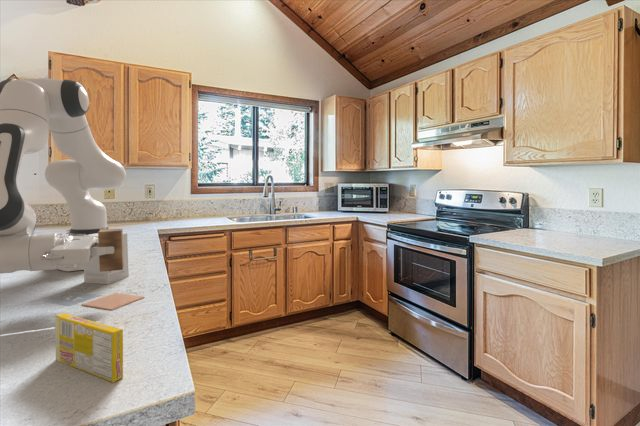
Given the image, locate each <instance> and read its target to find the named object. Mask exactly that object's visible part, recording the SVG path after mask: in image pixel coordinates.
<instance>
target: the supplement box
mask: <svg viewBox="0 0 640 426" xmlns="http://www.w3.org/2000/svg"><path fill="white" fill-rule="evenodd" d="M83 236H94V237H98V233H95V234H89V235H83ZM128 246H129V245H128V232H123V258H124V267H123V270H114V271H102V272H100V265H99V256H93V257H92V259H91V260H90V261H89V262H88V263H85V264H84V270H83V277H84V278H83V281H84V282H83V283H89V284H90V283H91V284H102V285H109V284H113V283H115V282H117V281H121V280H123V279H126V278H129V252H128V251H129V247H128Z"/></svg>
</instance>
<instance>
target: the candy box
mask: <svg viewBox="0 0 640 426" xmlns="http://www.w3.org/2000/svg"><path fill="white" fill-rule="evenodd" d="M54 320H55V321H54V323H55V324H54V325H55V328H54V329H55V361H58V362H60V363H62V364H65V365H67V366H70V367H73V368H75V369H78V370H80V371H83V372H85V373H88V374H90V375H93V376H96V377H98V378H101V379H103V380H105V381H108V382H111V383H112V384H114V383H116V382H118V381H120V380H121V379H123V378H124V330H123V329H122V328H118V327H115V326H111V325H108V324H104V323H100V322H98V321H93V320H90V319H86V318H84V317H79V316H75V315H72V314H69V313H64V312H63V313H61V314H56V315H55V317H54Z"/></svg>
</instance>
